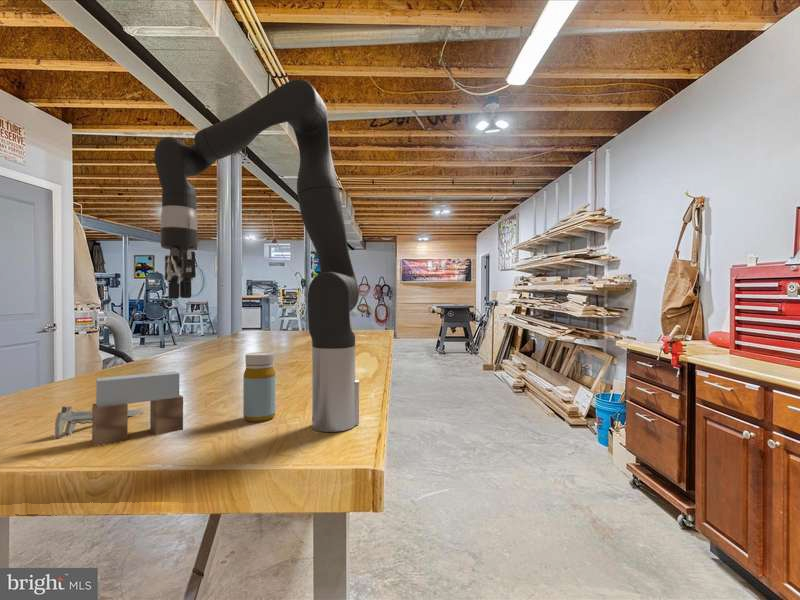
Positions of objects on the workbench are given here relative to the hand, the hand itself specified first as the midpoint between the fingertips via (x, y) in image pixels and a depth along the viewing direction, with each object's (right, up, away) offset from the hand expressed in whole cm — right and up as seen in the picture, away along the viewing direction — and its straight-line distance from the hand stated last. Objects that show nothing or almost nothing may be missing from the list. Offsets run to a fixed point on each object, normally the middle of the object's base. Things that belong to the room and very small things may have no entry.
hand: (179, 298), depth 97 cm
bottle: (+19, -28, 0) cm, 34 cm away
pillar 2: (+2, -28, -8) cm, 29 cm away
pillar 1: (-6, -28, -15) cm, 32 cm away
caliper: (-14, -28, -4) cm, 32 cm away
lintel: (-2, -21, -12) cm, 24 cm away
